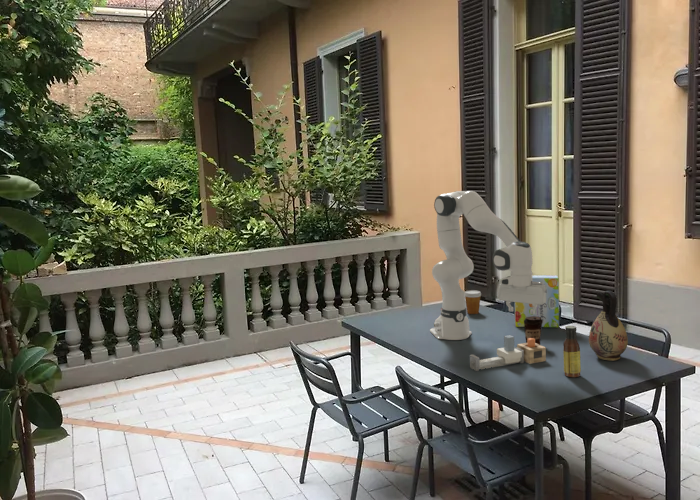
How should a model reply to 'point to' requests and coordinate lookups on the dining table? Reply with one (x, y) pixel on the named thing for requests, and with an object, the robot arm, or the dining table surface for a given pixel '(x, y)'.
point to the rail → (491, 361)
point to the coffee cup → (533, 328)
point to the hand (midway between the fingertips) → (521, 312)
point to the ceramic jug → (608, 330)
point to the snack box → (545, 311)
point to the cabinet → (533, 353)
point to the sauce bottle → (571, 353)
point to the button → (530, 342)
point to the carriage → (509, 350)
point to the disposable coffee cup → (472, 301)
